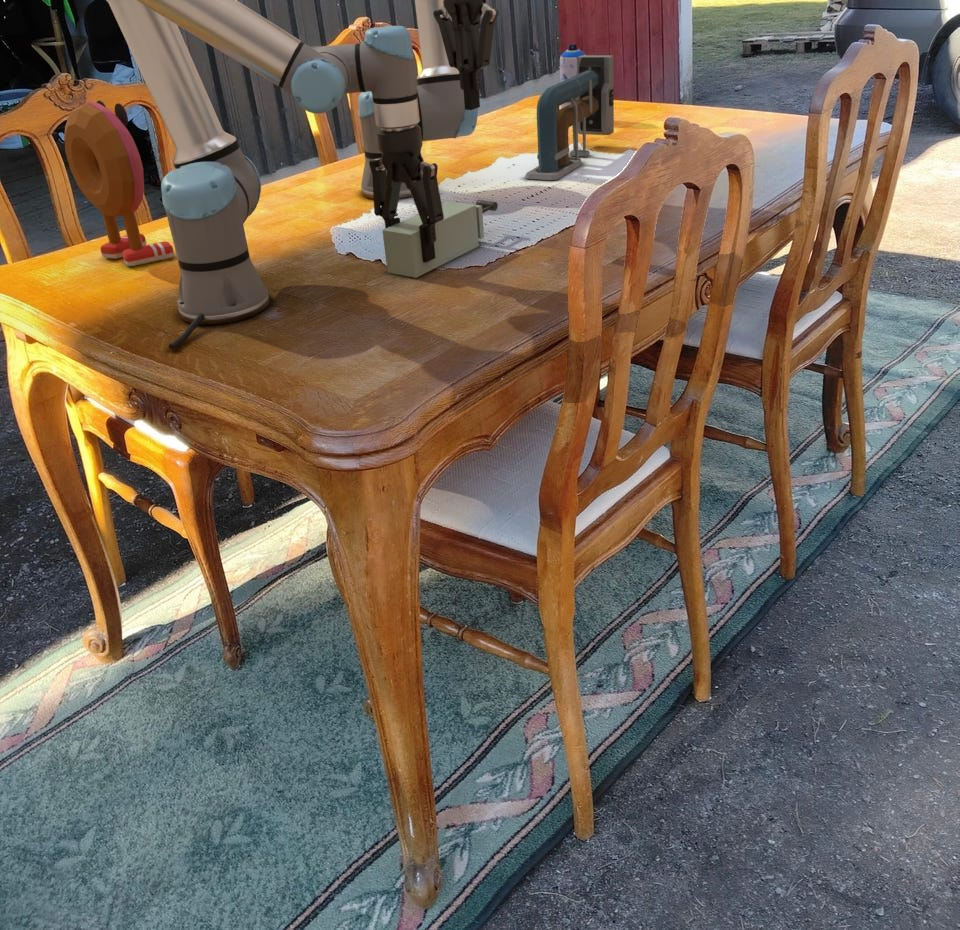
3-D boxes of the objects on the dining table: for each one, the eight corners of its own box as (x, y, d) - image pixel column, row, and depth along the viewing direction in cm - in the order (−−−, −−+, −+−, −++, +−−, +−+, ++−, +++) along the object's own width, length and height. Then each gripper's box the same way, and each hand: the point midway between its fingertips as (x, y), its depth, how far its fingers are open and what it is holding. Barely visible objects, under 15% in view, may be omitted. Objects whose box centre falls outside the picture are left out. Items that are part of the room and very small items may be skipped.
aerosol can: (559, 122, 275) (557, 47, 265) (562, 117, 282) (559, 42, 272) (587, 121, 274) (585, 45, 263) (589, 115, 280) (587, 41, 270)
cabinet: (451, 241, 189) (447, 201, 185) (479, 246, 185) (475, 205, 181) (387, 272, 176) (382, 229, 172) (416, 277, 172) (411, 234, 168)
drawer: (479, 225, 194) (477, 194, 191) (502, 228, 191) (500, 197, 188) (402, 262, 178) (398, 229, 175) (426, 266, 175) (422, 232, 172)
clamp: (556, 180, 222) (553, 82, 211) (522, 178, 225) (517, 81, 215) (613, 144, 247) (613, 55, 237) (582, 143, 251) (580, 55, 240)
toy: (187, 258, 192) (149, 99, 177) (141, 273, 186) (98, 110, 171) (132, 241, 205) (93, 92, 190) (88, 254, 199) (43, 101, 184)
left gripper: (457, 125, 161) (468, 258, 173) (369, 118, 172) (386, 244, 183) (429, 134, 156) (443, 271, 168) (341, 127, 167) (359, 256, 178)
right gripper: (505, -38, 166) (512, 106, 178) (445, -36, 173) (456, 102, 185) (479, -34, 161) (489, 114, 173) (419, -32, 168) (432, 110, 180)
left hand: (413, 257), depth 176 cm, fingers closed on cabinet, 7 cm apart
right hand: (472, 108), depth 179 cm, fingers closed
